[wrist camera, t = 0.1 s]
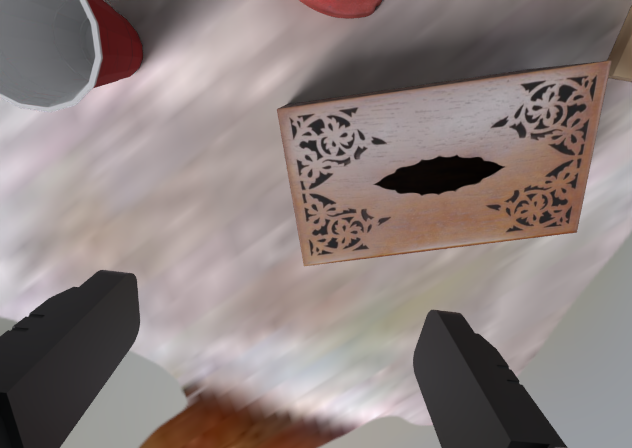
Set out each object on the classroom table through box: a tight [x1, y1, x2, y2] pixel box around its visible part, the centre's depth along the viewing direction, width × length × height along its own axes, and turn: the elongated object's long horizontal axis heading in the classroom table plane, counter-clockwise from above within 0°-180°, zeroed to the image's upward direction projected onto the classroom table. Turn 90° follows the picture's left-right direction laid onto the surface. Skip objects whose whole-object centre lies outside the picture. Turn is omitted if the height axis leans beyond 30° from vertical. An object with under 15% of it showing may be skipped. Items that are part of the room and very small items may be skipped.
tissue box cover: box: [277, 61, 611, 266], centre depth 32 cm, size 26×14×10 cm, turn 98°
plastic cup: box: [0, 0, 143, 112], centre depth 26 cm, size 11×11×12 cm
